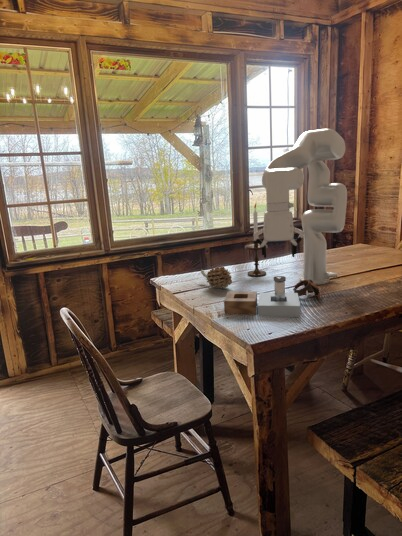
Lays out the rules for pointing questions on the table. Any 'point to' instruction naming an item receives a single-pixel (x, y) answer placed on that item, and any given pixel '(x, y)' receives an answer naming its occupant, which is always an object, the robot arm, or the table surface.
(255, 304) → the mount block
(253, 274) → the candlestick
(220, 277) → the pine cone
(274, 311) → the socket block
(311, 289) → the cracked clay ring
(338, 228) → the robot arm
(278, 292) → the lock pin
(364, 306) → the table surface
